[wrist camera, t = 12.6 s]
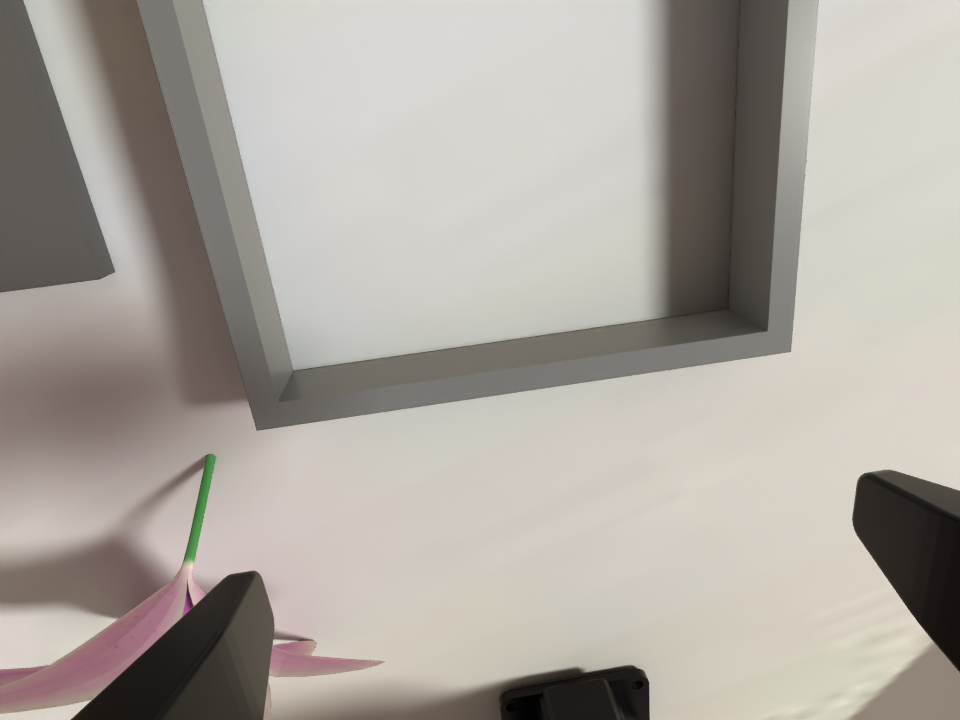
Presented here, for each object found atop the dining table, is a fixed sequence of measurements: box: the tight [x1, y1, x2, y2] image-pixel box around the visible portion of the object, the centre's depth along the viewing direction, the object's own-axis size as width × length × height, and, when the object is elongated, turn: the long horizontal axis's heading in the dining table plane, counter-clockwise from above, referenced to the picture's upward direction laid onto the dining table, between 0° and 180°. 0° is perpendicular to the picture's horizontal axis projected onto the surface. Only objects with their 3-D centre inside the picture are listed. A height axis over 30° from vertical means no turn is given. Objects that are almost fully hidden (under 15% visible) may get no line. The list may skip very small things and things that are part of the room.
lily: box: [0, 455, 384, 720], centre depth 19 cm, size 12×12×10 cm
